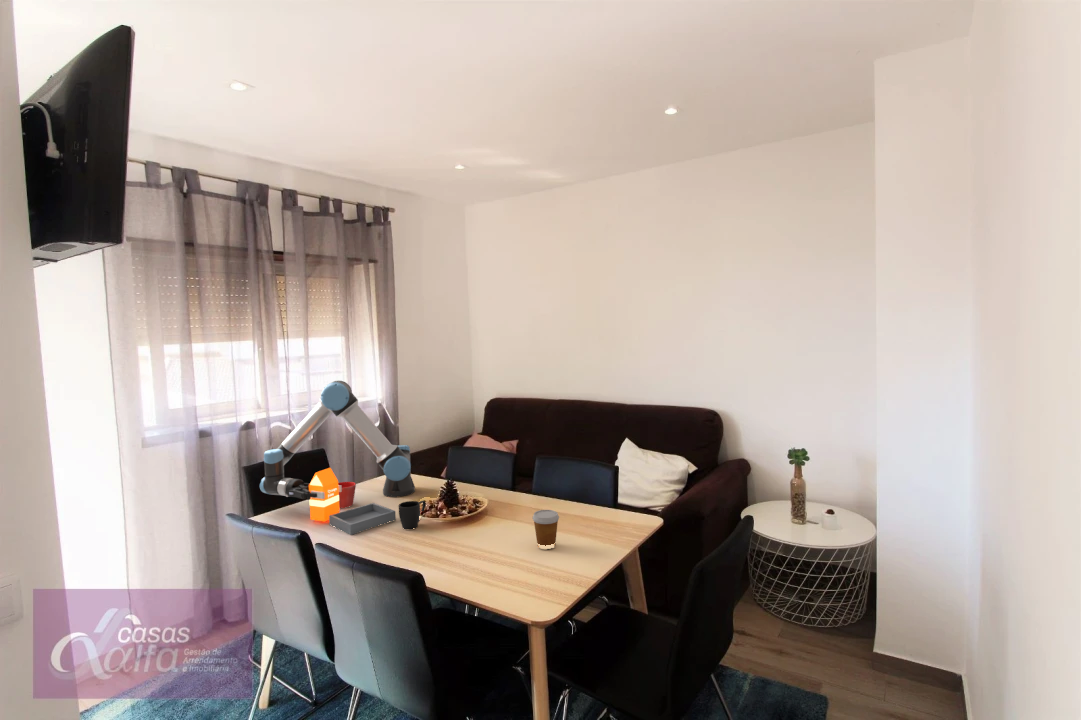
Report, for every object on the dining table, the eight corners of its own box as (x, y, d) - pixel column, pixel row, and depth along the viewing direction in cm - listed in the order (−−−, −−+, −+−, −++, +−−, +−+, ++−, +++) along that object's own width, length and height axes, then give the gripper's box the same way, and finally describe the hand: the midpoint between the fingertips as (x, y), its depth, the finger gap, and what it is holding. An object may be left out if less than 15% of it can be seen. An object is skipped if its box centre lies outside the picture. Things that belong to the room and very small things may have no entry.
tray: (373, 511, 229) (373, 502, 229) (395, 520, 218) (395, 510, 217) (329, 525, 214) (329, 515, 214) (350, 535, 203) (350, 524, 202)
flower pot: (347, 500, 246) (346, 480, 245) (361, 504, 239) (360, 483, 239) (326, 506, 237) (325, 485, 237) (340, 511, 231) (339, 489, 230)
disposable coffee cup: (540, 554, 181) (540, 520, 181) (528, 544, 190) (527, 512, 189) (564, 548, 186) (563, 515, 185) (551, 539, 194) (551, 507, 193)
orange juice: (310, 519, 218) (307, 472, 216) (325, 512, 226) (323, 466, 225) (324, 521, 215) (322, 473, 214) (340, 514, 223) (338, 468, 222)
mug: (432, 523, 213) (431, 500, 212) (408, 533, 203) (407, 508, 203) (419, 519, 218) (418, 497, 217) (395, 528, 209) (394, 504, 208)
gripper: (311, 488, 237) (351, 493, 228) (271, 504, 216) (313, 509, 208) (310, 472, 236) (350, 476, 228) (270, 486, 216) (312, 490, 208)
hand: (332, 492), depth 218 cm, fingers closed on orange juice, 9 cm apart
